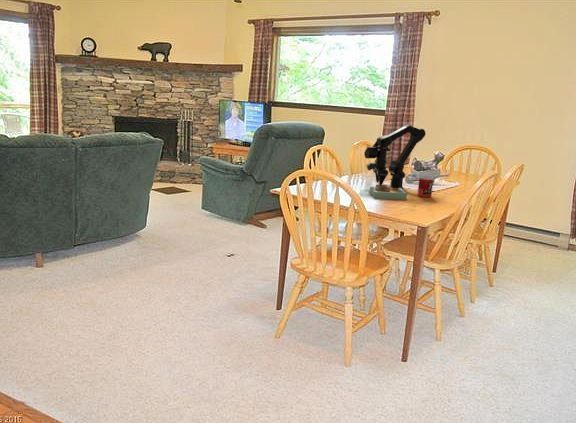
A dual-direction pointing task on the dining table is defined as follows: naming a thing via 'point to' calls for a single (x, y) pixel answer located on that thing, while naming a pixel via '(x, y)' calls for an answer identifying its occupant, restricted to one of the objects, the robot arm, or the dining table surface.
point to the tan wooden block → (382, 188)
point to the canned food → (425, 186)
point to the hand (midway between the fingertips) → (378, 183)
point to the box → (389, 194)
